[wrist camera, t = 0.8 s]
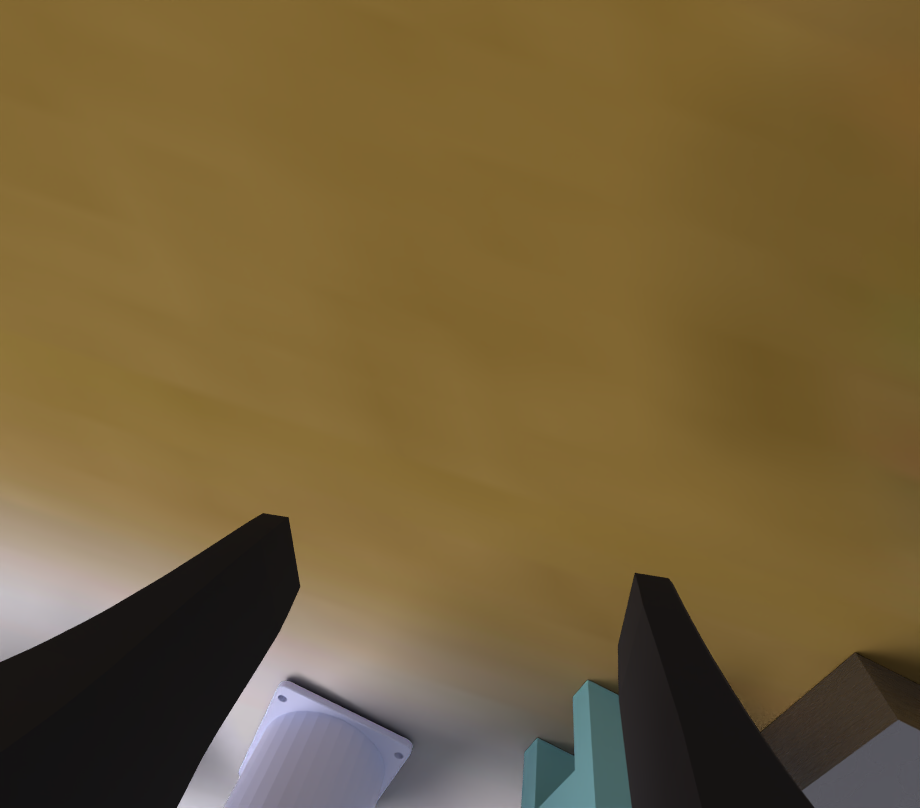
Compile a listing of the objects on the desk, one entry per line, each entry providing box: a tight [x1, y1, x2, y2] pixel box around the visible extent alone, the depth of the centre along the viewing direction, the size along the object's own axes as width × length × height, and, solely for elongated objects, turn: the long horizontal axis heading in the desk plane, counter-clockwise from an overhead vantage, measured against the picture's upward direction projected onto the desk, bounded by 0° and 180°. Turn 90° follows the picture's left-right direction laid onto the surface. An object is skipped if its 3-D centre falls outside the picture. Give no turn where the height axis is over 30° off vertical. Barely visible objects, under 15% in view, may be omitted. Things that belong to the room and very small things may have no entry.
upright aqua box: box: [521, 680, 632, 808], centre depth 23 cm, size 6×3×6 cm, turn 155°
